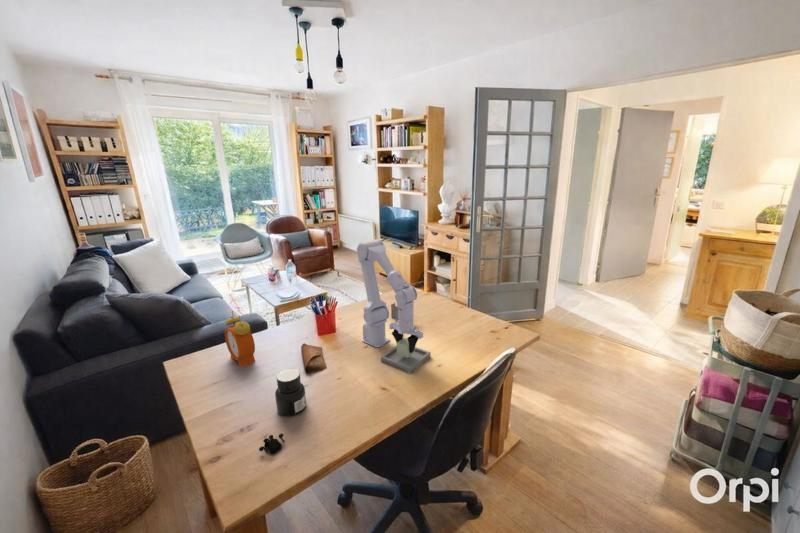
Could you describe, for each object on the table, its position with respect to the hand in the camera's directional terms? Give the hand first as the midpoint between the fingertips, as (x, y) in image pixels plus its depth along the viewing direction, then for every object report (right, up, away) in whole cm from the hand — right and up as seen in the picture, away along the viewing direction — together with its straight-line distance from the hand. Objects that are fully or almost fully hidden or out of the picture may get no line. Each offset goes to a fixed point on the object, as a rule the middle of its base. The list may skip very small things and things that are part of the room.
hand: (405, 349), depth 134 cm
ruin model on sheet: (-2, +5, +35) cm, 35 cm away
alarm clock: (-64, -4, +1) cm, 65 cm away
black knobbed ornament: (-37, -17, -40) cm, 57 cm away
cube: (0, -1, 0) cm, 2 cm away
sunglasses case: (-36, -5, +2) cm, 37 cm away
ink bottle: (-36, -12, -25) cm, 46 cm away
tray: (0, -4, +1) cm, 4 cm away
